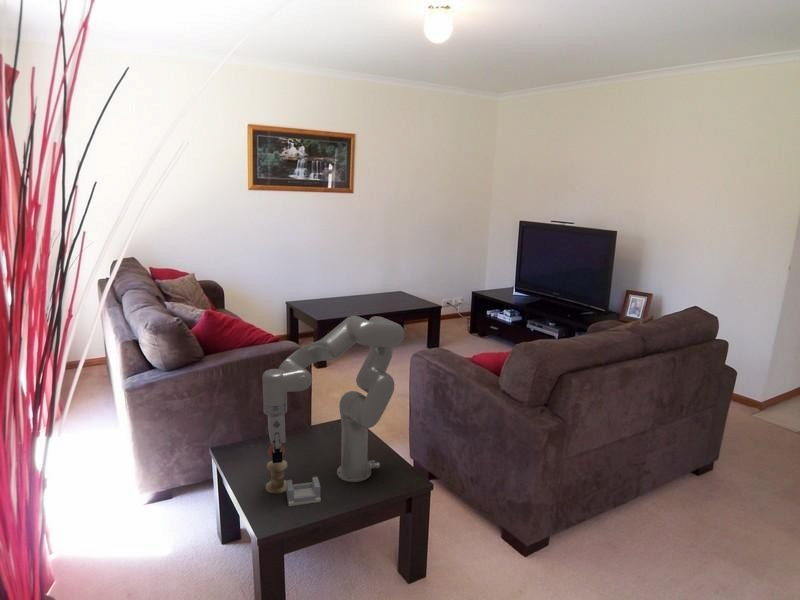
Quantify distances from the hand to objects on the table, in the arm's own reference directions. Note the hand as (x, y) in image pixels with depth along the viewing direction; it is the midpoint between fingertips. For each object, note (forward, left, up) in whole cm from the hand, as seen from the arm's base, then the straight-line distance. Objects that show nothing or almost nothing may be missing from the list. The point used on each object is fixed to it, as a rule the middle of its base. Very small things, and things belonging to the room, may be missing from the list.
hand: (276, 457), depth 180 cm
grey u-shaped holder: (-8, +1, -15) cm, 17 cm away
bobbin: (0, -7, -15) cm, 17 cm away
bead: (0, 0, 0) cm, 0 cm away
